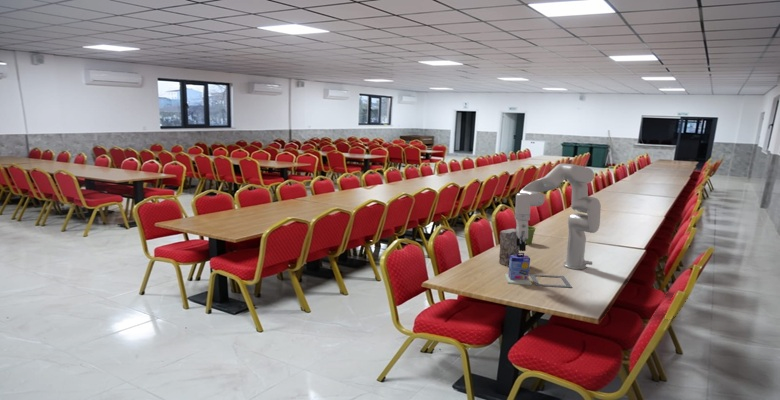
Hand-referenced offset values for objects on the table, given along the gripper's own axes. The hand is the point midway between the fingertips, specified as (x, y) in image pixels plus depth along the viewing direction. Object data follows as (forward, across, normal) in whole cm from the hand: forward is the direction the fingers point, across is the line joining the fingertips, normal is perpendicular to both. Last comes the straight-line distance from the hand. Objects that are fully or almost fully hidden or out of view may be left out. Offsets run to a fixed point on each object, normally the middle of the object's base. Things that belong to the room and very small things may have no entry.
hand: (520, 248), depth 251 cm
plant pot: (+20, +80, -16) cm, 84 cm away
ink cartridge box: (+17, -1, +1) cm, 17 cm away
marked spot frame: (+18, 0, -16) cm, 24 cm away
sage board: (+17, -1, +1) cm, 17 cm away
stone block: (+18, +30, +2) cm, 35 cm away
